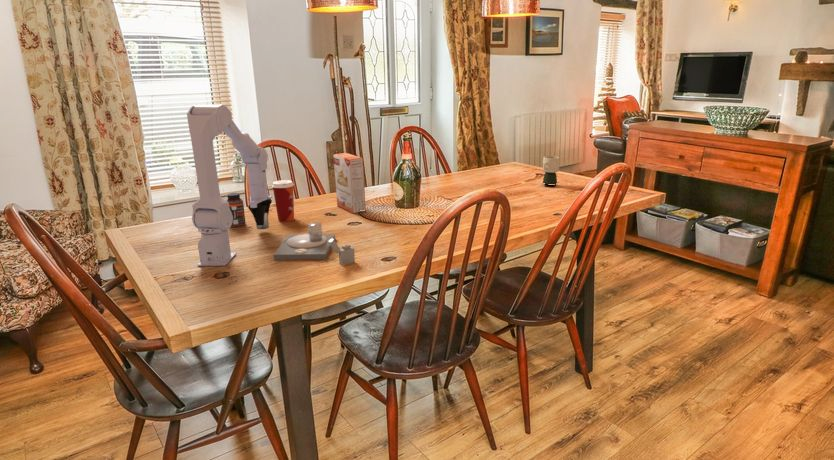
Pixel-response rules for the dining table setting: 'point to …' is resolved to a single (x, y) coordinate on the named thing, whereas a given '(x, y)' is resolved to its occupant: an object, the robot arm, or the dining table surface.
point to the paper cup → (284, 199)
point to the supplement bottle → (236, 209)
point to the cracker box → (349, 182)
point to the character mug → (550, 169)
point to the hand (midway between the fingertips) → (262, 223)
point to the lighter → (343, 252)
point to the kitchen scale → (303, 248)
